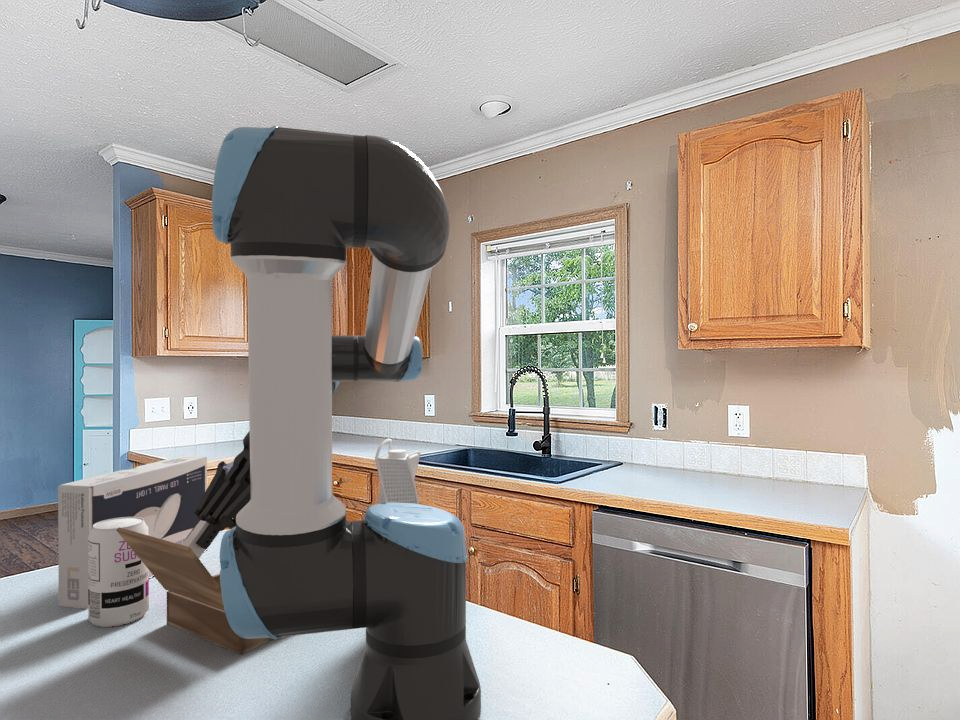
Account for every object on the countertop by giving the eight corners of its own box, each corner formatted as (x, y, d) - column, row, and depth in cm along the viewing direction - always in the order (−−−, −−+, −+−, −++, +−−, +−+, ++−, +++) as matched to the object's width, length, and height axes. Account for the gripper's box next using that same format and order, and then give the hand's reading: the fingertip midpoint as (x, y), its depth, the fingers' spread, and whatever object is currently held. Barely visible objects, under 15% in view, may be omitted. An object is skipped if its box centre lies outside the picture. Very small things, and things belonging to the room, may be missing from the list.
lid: (167, 586, 93) (119, 527, 87) (238, 611, 84) (190, 547, 78) (165, 589, 93) (116, 529, 87) (236, 614, 84) (187, 550, 78)
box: (245, 593, 106) (245, 565, 105) (318, 617, 96) (318, 586, 96) (166, 624, 94) (166, 591, 94) (241, 654, 84) (241, 618, 84)
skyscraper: (362, 615, 97) (362, 439, 96) (410, 605, 101) (409, 435, 100) (381, 637, 89) (380, 446, 89) (431, 624, 93) (431, 442, 93)
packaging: (89, 609, 100) (88, 486, 99) (58, 605, 101) (57, 485, 101) (208, 550, 129) (207, 456, 129) (182, 548, 130) (182, 455, 130)
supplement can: (110, 606, 100) (110, 515, 100) (159, 607, 100) (159, 516, 100) (76, 628, 92) (75, 529, 92) (129, 629, 92) (128, 530, 92)
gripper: (316, 452, 99) (225, 588, 85) (263, 445, 106) (171, 570, 92) (289, 422, 94) (189, 561, 80) (236, 417, 101) (135, 544, 87)
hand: (180, 565), depth 86 cm, fingers closed
